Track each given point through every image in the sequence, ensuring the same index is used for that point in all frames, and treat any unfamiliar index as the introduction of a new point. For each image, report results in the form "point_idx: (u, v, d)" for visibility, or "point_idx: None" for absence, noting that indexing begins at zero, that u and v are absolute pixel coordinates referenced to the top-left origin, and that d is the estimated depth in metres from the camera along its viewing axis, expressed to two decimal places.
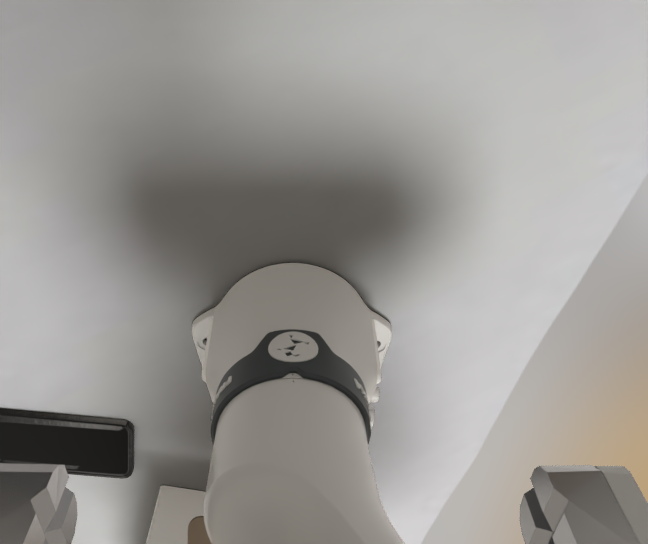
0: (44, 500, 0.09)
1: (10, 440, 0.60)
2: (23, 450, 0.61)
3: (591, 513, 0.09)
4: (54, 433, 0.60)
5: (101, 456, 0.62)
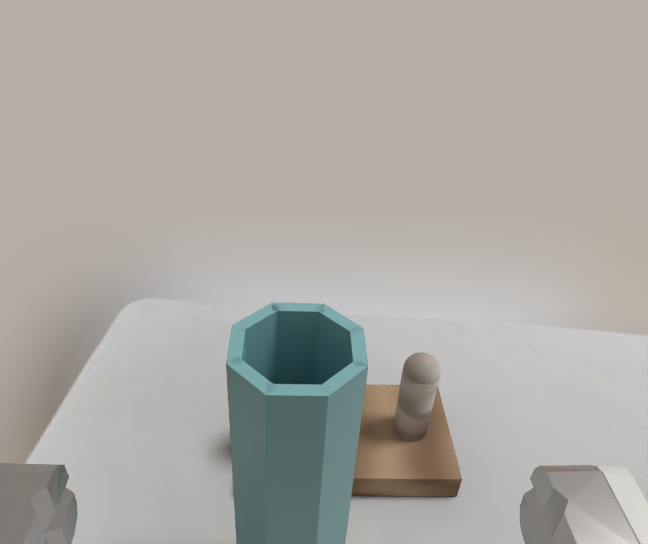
0: (44, 500, 0.09)
1: None
2: None
3: (591, 513, 0.09)
4: None
5: None
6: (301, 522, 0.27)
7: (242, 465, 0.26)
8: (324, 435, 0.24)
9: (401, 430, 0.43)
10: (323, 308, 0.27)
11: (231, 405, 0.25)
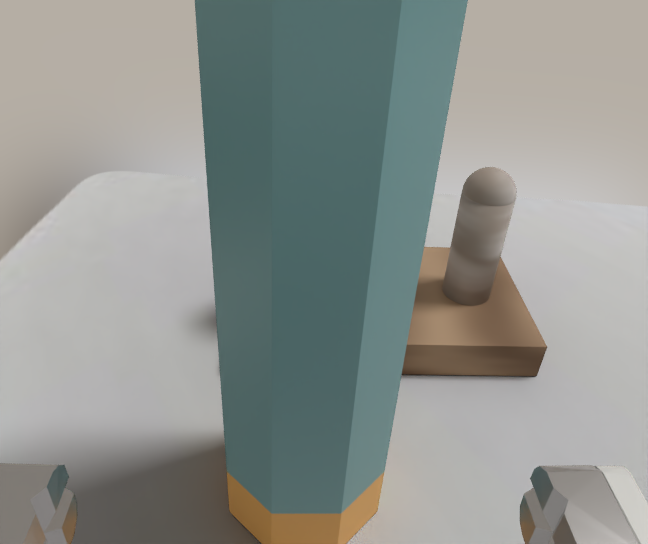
0: (44, 500, 0.09)
1: None
2: None
3: (591, 513, 0.09)
4: None
5: None
6: (336, 306, 0.15)
7: (226, 189, 0.14)
8: (392, 60, 0.11)
9: (456, 288, 0.31)
10: None
11: (202, 33, 0.13)
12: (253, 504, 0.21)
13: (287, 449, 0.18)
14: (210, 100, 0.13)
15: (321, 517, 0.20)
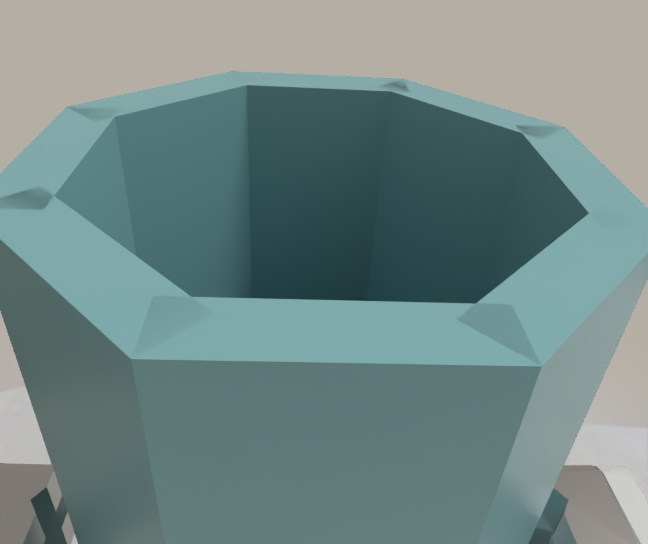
0: (44, 500, 0.09)
1: None
2: None
3: (591, 513, 0.09)
4: None
5: None
6: None
7: None
8: None
9: None
10: (404, 86, 0.08)
11: (42, 418, 0.06)
12: None
13: None
14: (75, 511, 0.07)
15: None
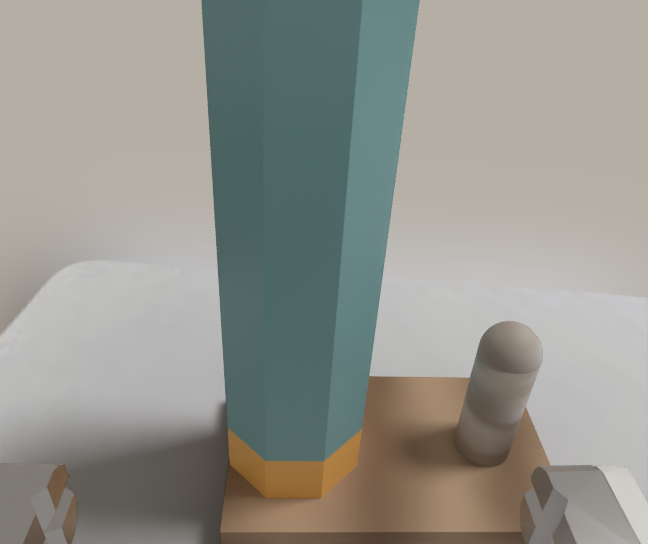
0: (44, 500, 0.09)
1: None
2: None
3: (590, 513, 0.09)
4: None
5: None
6: (315, 280, 0.19)
7: (228, 186, 0.18)
8: (353, 89, 0.15)
9: (470, 449, 0.27)
10: None
11: (209, 66, 0.16)
12: (250, 454, 0.24)
13: (278, 403, 0.22)
14: (215, 117, 0.17)
15: (307, 464, 0.24)
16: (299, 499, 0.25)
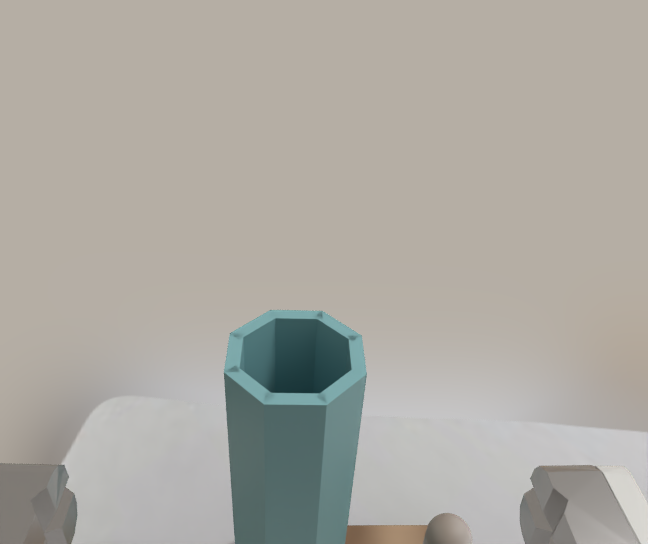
0: (44, 500, 0.09)
1: None
2: None
3: (591, 513, 0.09)
4: None
5: None
6: (300, 530, 0.27)
7: (240, 473, 0.26)
8: (322, 444, 0.24)
9: None
10: (321, 315, 0.27)
11: (229, 413, 0.25)
12: None
13: None
14: (232, 438, 0.25)
15: None
16: None
